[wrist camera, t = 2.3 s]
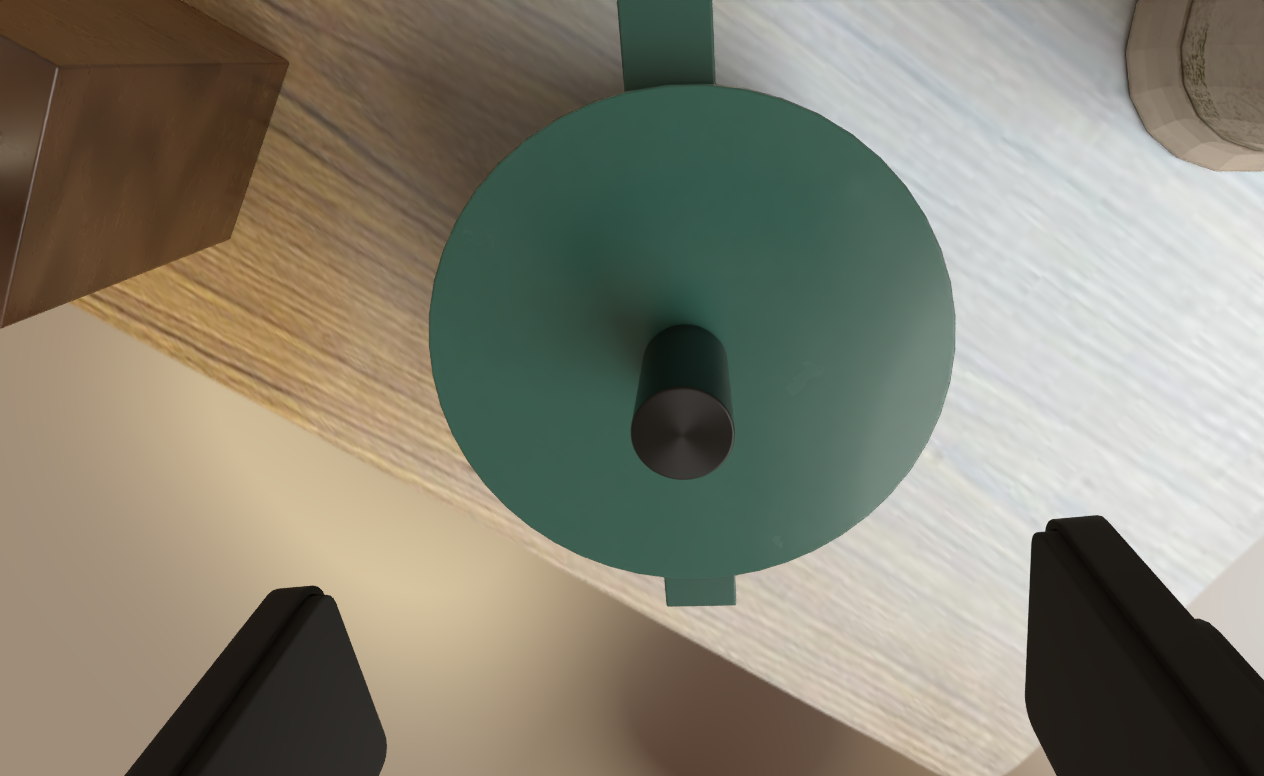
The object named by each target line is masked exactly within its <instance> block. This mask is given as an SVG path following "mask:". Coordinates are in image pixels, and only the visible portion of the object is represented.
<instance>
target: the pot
mask: <svg viewBox="0 0 1264 776" xmlns="http://www.w3.org/2000/svg"><path fill="white" fill-rule="evenodd" d="M617 7H618V19H619V32H620V44H621V56H622V68H623V80H624V92H626V91H629V90H634V89H640V88H646V87H653V86H659V85H665V84H698V83H708V84H716V83H715V58H714V33H713V8H712V0H617ZM664 579H665V591H666V603H667V606H668V607H669V606H722V605H736V585H735V575H733V576H728V577H715V578H702V579H690V578H666V577H664Z"/></svg>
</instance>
